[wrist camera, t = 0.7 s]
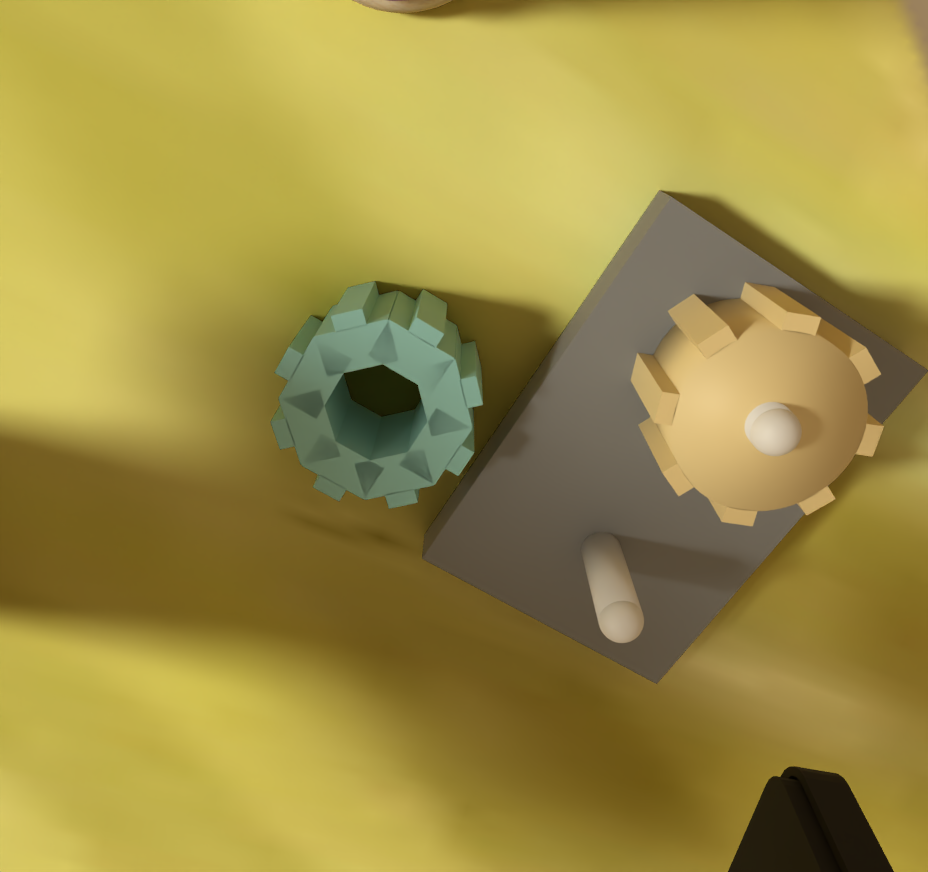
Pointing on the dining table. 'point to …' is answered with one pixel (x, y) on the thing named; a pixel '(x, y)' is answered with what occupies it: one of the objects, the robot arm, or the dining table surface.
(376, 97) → the dining table surface
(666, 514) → the gear board
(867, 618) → the dining table surface
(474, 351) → the teal gear
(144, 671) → the dining table surface
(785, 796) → the robot arm
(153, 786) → the dining table surface
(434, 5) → the stacking toy
